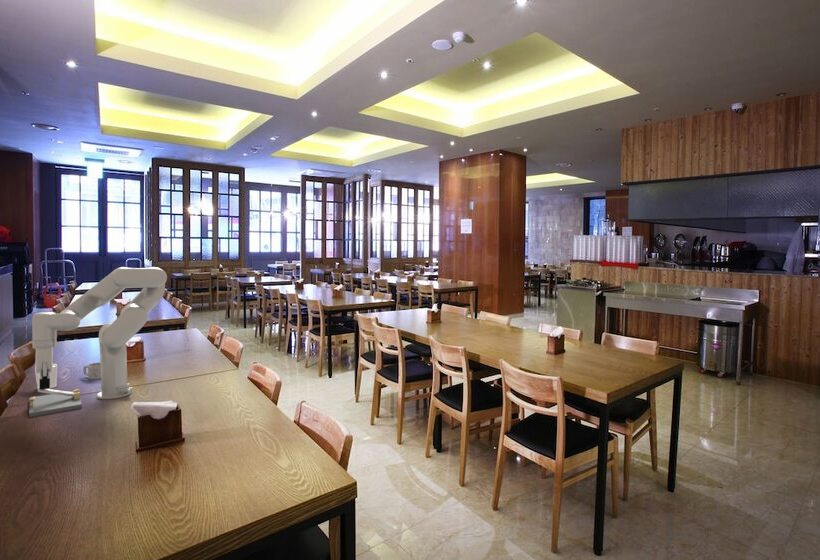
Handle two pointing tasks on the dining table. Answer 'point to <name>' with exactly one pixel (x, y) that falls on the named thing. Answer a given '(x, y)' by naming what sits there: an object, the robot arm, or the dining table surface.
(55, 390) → the bar
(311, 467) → the dining table surface
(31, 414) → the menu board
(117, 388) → the robot arm
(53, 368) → the white cup
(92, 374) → the mug
